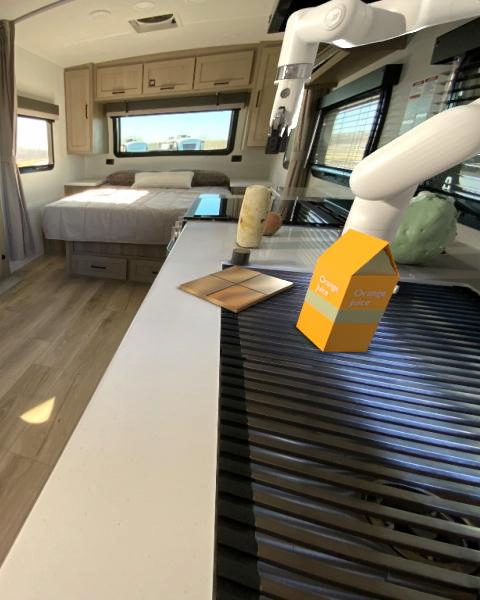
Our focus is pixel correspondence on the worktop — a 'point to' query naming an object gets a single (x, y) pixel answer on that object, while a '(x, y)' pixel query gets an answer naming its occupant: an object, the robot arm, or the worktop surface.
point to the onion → (272, 223)
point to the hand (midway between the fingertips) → (275, 153)
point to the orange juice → (348, 293)
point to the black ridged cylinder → (240, 256)
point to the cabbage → (425, 228)
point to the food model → (253, 215)
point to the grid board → (236, 287)
